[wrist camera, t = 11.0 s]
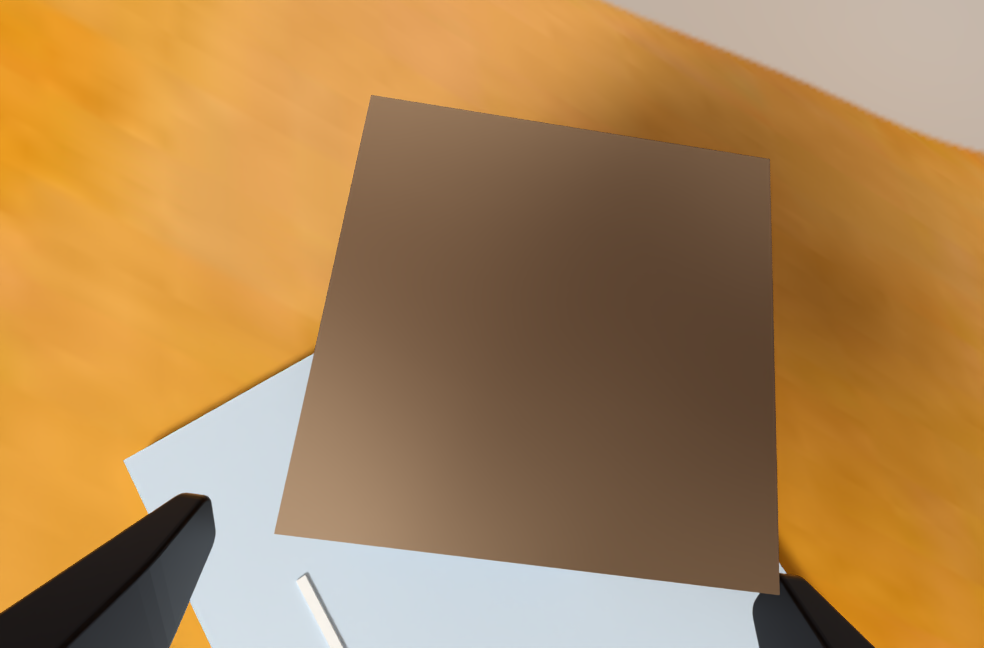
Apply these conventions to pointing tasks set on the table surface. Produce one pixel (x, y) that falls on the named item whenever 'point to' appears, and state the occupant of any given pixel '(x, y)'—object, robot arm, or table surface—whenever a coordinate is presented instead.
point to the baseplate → (390, 564)
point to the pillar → (546, 354)
